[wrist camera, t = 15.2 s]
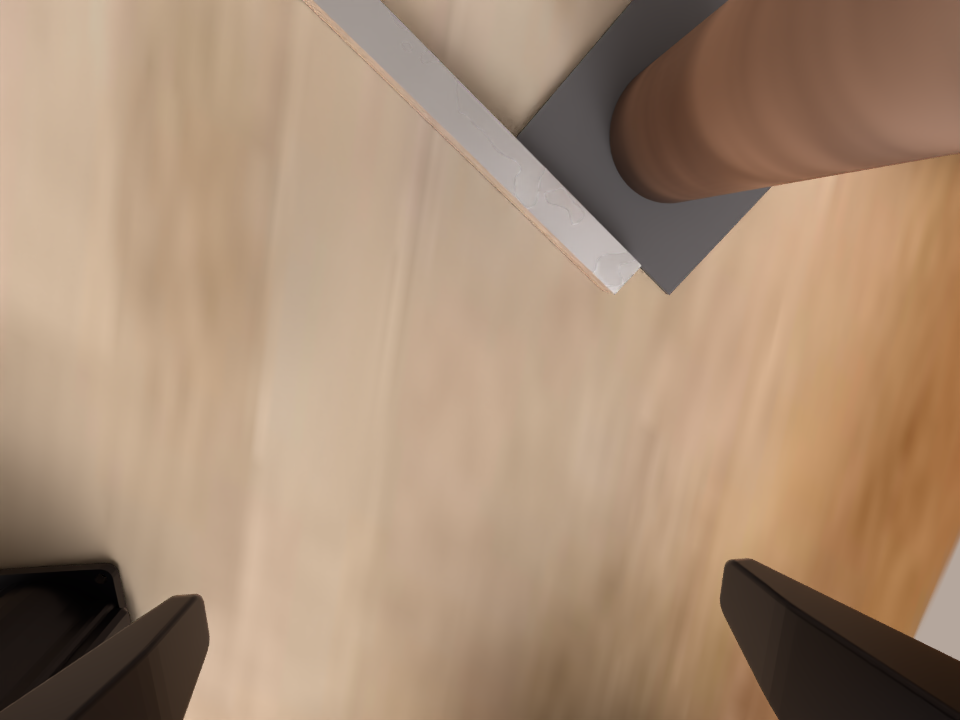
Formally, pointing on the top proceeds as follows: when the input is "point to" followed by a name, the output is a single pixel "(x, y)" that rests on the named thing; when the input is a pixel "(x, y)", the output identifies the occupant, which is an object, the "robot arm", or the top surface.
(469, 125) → the steel straightedge
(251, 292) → the top surface
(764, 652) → the robot arm
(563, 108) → the grey square plate
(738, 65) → the brown thread spool
